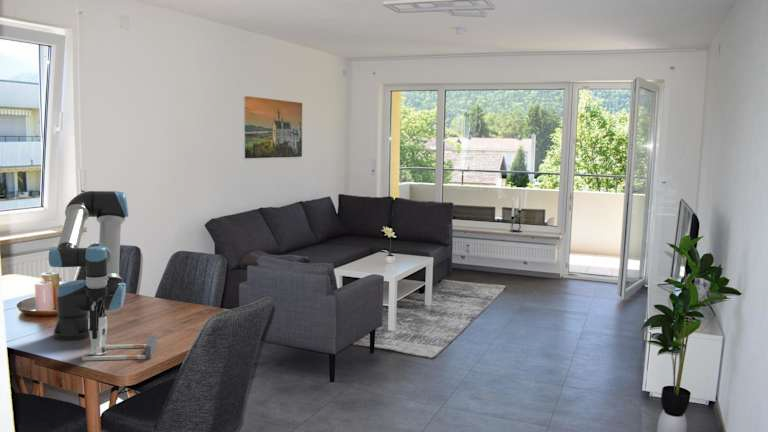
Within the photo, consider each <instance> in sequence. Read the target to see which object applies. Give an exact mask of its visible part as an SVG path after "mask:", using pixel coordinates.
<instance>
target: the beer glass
mask: <svg viewBox="0 0 768 432" xmlns="http://www.w3.org/2000/svg"><path fill="white" fill-rule="evenodd" d="M89 329H90V315H88V333H89V340H90V341H89V342H90V350H89V355H91V356H104V354H106V353H107V349H106V346H105V345H106V341H107V333H108V318H107V314H106V313H105V314H102V317H99V326H98V330H99V345H100V346H98V347H92V341H91V331H89Z"/></svg>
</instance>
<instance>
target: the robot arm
mask: <svg viewBox="0 0 768 432" xmlns="http://www.w3.org/2000/svg"><path fill="white" fill-rule="evenodd" d="M64 216H65V220H64V222H63V223H64V224H63V228H62V230H61V234H60V238H59V241H58V245H57V247H54V248H50V250H49V252H48V264H49V266H51V267H52V268H75V267H76V268H77V267H81V268H82V267H85V272H86V273H85V279H77V280H70V281H66V282H64V283H62V284H59V285H58V286H57V289H56V290H57V291H56V299H57V301H56V302H57V303H56V304H57V305H56V306H57V320H56V324H55V326H54V330H53V338H54V339H55V340H59V341H77V340H81V339H82V340H83V339H86V338H88V337H89V333H88V317H89V316H90V329H89V331H91V341H92V347H98V346H100V345H99V330H98V326H99V317H102V314H105V315H106V311H109V312H110V311H114V310H116V311H117V310H120V309H122V308H123V305H124V304H125V299H126V294H127V293H126V292H127V291H126V290H127V283H125V282H124V281H123V278H122V277H121V276H120V256H121V226H122V224H123V223H124V222H125V218H127V217H128V218H129V207H128V200H127V195H126V193H125V192H123V191H116V190H114V191H113V190H112V191H111V190H106V191H105V190H104V191H103V190H100V191H99V190H95V191H94V190H87V191H84V192H81V193H79V194H77V195H76V196H74V197H73V198H72V199H70V201H69V202H68V204H67V205H66V207H65V211H64ZM88 218H96V221H97V222H98V224H99V240H98V246H97V245H94V246H89V247H80V243H81V239H82V235H83V229H84V227H85V222H86V221H88ZM89 338H90V337H89Z"/></svg>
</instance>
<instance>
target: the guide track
mask: <svg viewBox="0 0 768 432" xmlns="http://www.w3.org/2000/svg"><path fill="white" fill-rule="evenodd" d="M157 336H158V335H157V334H151V335H150V337H149V339H148V340H147V343H135V344H128V343H127V344H105V346H106V350H110V349H113V350H116V349H144V350H145V351H144V352H145V353H144V354H126V355H125V354H123V355H91V356H90V355H89V356H87V355H86V356H82V358H81V359H82V362H83V361H107V360H108V361H110V360H112V361H113V360H114V361H115V360H149V359H152V357H153V355H154V353H155V350H156V349H157V347H158V341H157V339H158V338H157Z"/></svg>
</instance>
